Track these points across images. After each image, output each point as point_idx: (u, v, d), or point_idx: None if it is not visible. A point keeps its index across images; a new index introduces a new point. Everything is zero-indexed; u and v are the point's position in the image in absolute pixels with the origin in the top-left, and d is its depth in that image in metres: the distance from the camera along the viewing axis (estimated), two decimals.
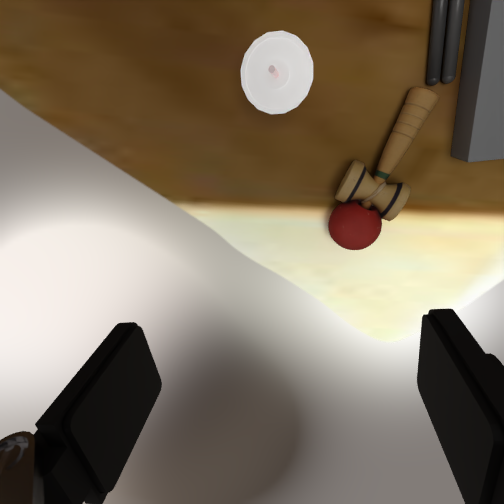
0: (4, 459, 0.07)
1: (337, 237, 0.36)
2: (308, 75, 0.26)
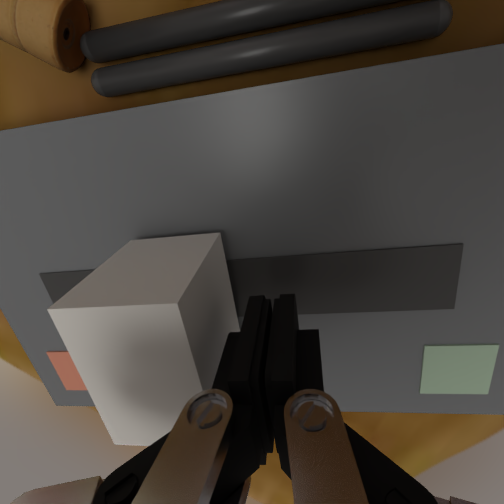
0: (205, 413, 0.07)
1: None
2: None
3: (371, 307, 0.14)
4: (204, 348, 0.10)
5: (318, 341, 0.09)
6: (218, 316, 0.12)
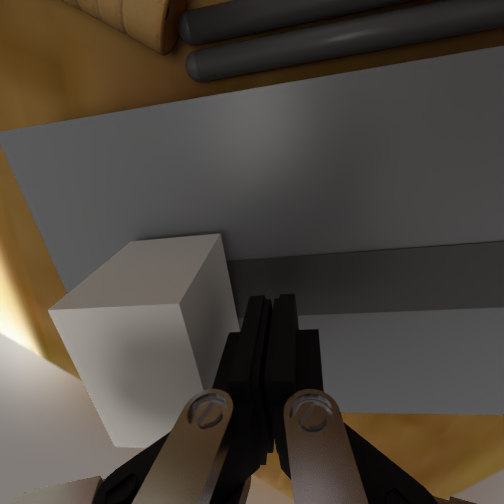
0: (205, 413, 0.07)
1: None
2: None
3: (486, 303, 0.13)
4: (205, 349, 0.10)
5: (318, 341, 0.09)
6: (219, 317, 0.12)
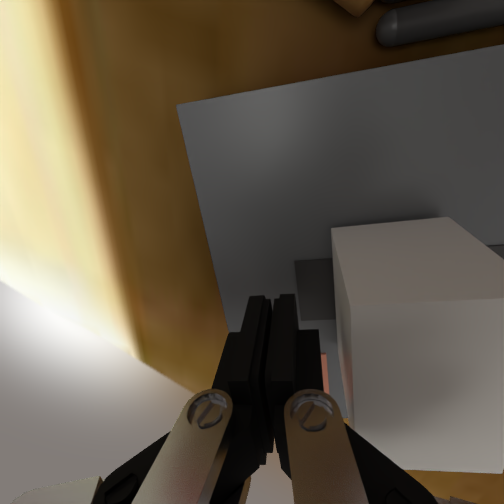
0: (205, 413, 0.07)
1: None
2: None
3: None
4: None
5: (318, 341, 0.09)
6: None
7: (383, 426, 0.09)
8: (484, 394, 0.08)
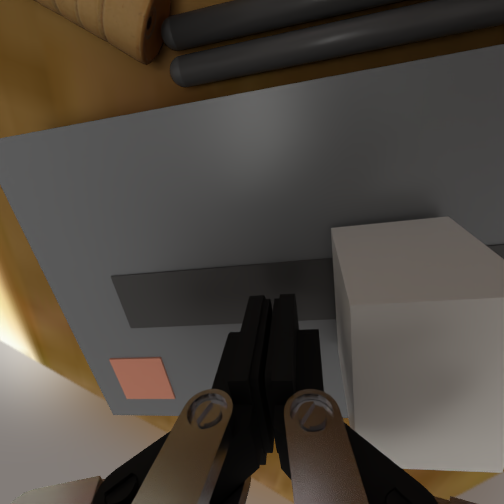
0: (205, 413, 0.07)
1: None
2: None
3: None
4: None
5: (318, 341, 0.09)
6: None
7: (383, 425, 0.09)
8: (484, 393, 0.08)
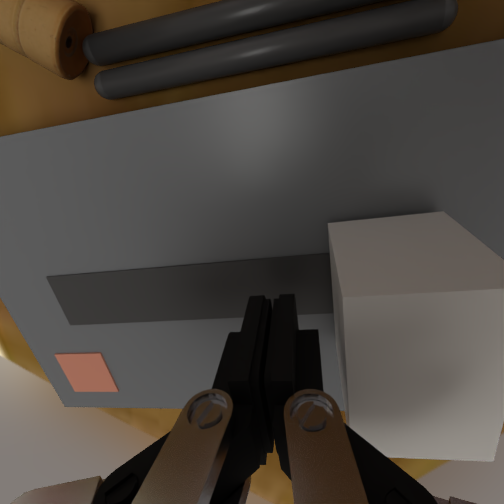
0: (205, 413, 0.07)
1: None
2: None
3: None
4: None
5: (318, 341, 0.09)
6: None
7: (377, 415, 0.09)
8: (474, 383, 0.08)
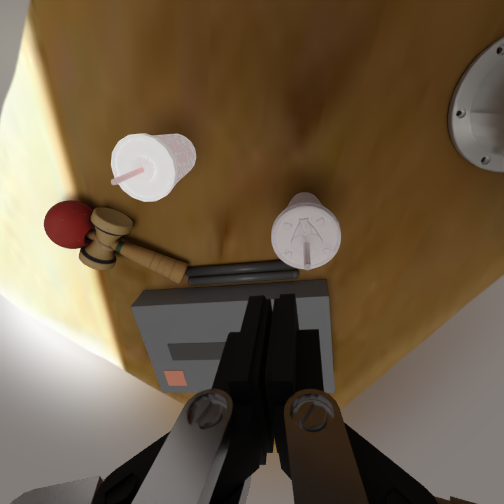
0: (205, 413, 0.07)
1: (51, 213, 0.37)
2: (147, 197, 0.30)
3: None
4: None
5: (318, 341, 0.09)
6: None
7: None
8: None
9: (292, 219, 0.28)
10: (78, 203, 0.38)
